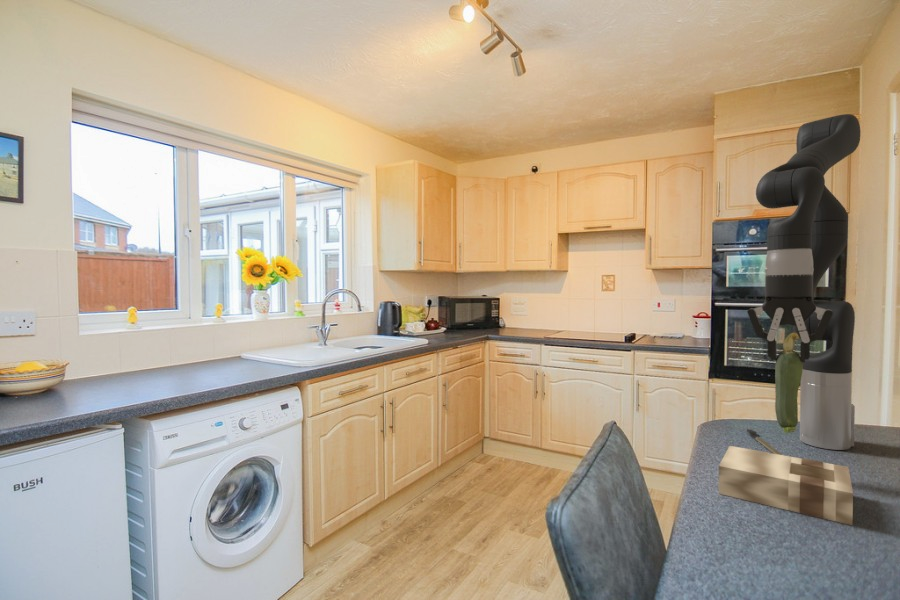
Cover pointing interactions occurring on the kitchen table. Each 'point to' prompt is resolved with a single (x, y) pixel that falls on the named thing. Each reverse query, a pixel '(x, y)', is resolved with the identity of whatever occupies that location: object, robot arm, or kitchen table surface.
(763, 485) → the wooden block with hole
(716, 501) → the kitchen table surface
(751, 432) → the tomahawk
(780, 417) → the vegetable
